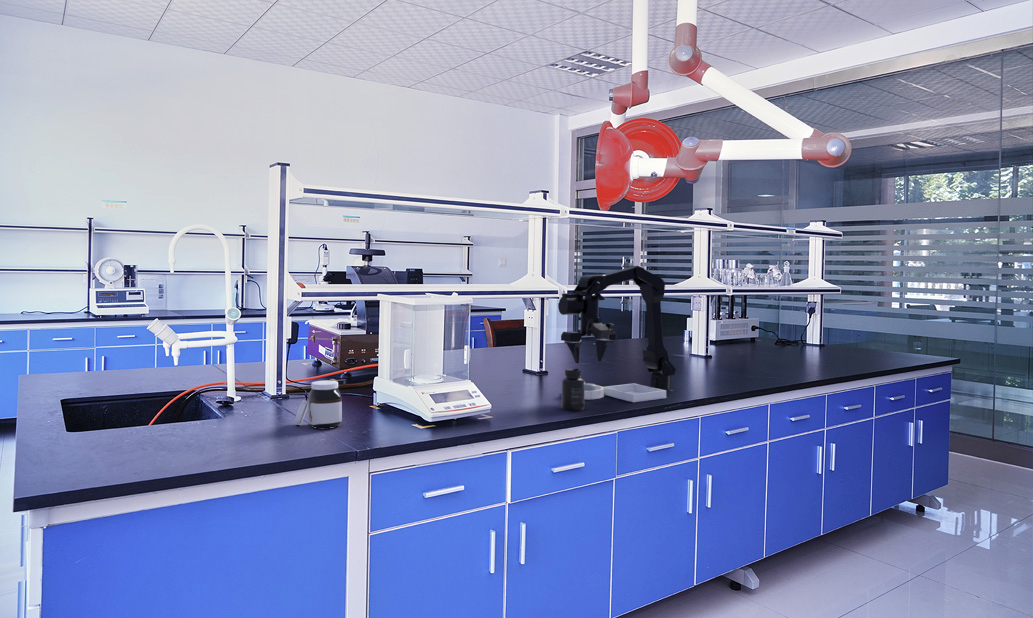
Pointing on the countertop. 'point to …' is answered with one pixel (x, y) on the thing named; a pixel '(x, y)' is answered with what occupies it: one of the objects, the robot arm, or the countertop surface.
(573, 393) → the supplement bottle
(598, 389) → the bowl
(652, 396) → the parts tray
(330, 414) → the spread jar
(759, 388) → the countertop surface
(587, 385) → the grey cube
